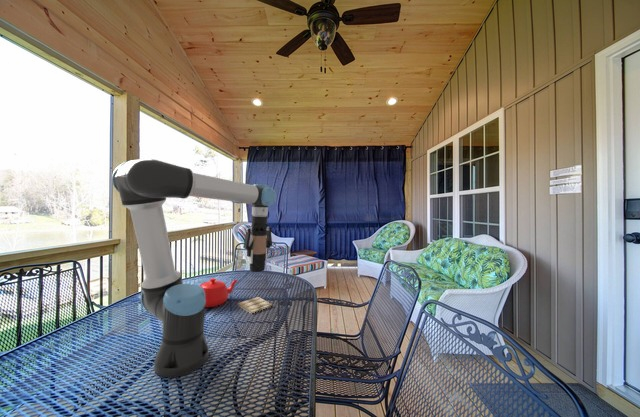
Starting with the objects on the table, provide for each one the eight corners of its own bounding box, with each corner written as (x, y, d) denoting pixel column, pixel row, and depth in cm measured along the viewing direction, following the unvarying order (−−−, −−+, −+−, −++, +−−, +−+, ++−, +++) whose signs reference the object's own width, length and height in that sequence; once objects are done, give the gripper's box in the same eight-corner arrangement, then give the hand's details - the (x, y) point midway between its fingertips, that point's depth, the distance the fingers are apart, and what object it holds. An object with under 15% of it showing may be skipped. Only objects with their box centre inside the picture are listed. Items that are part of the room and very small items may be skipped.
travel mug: (256, 273, 111) (258, 231, 110) (245, 269, 115) (247, 229, 115) (268, 269, 118) (270, 230, 117) (257, 266, 122) (259, 228, 121)
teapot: (190, 315, 105) (191, 288, 104) (181, 303, 116) (182, 278, 116) (243, 302, 121) (245, 278, 121) (231, 292, 133) (232, 270, 133)
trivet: (251, 314, 109) (251, 311, 109) (237, 305, 117) (238, 302, 117) (272, 306, 118) (272, 303, 118) (258, 299, 126) (258, 296, 126)
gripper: (244, 216, 105) (242, 267, 106) (280, 216, 121) (278, 259, 122) (236, 215, 110) (234, 263, 111) (272, 214, 126) (270, 256, 127)
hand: (257, 261), depth 116 cm, fingers closed on travel mug, 8 cm apart
